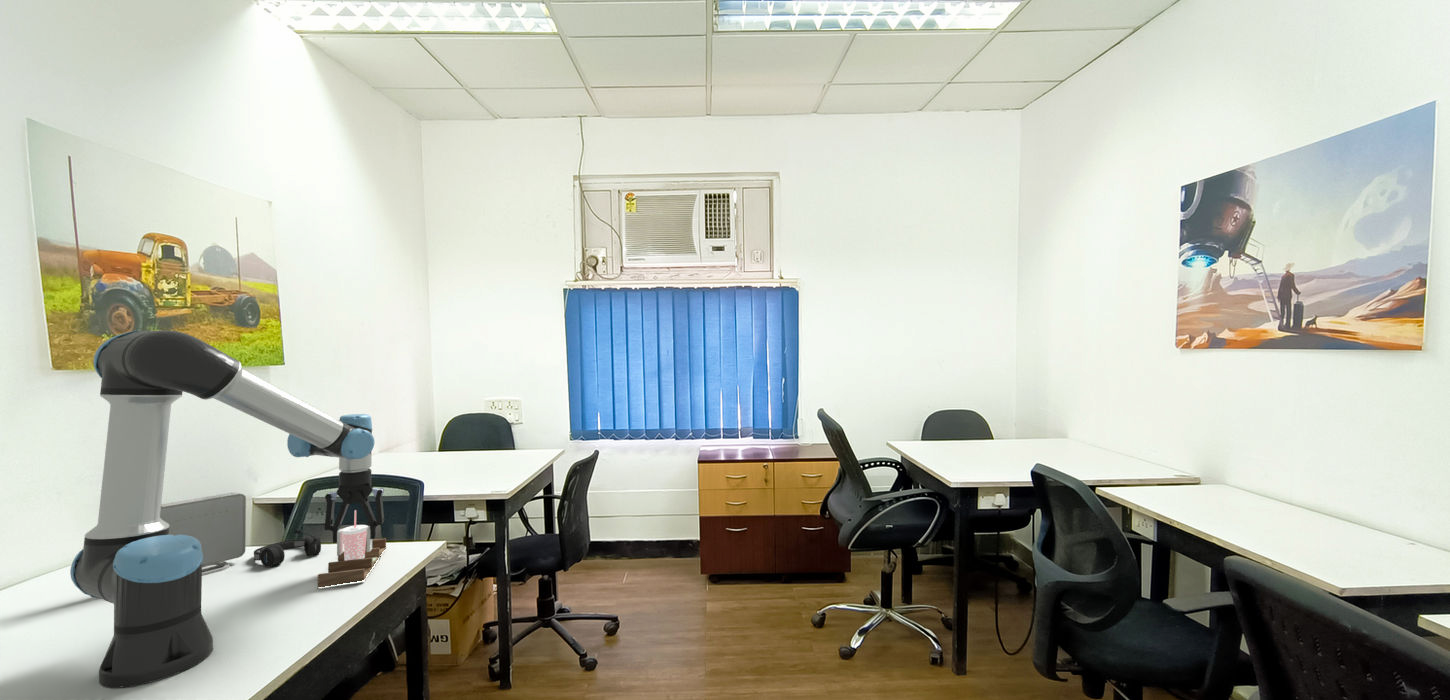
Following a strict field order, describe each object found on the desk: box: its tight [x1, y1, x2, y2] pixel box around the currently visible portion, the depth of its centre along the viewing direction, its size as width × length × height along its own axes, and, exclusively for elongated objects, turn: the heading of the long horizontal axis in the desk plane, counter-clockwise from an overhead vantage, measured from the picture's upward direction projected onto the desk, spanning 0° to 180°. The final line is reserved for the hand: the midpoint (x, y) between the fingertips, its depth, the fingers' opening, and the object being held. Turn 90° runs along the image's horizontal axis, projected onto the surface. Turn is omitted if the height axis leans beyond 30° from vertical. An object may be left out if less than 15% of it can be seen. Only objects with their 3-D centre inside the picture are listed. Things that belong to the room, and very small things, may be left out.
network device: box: [160, 491, 247, 577], centre depth 145 cm, size 26×9×20 cm, turn 148°
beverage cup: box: [341, 509, 369, 560], centre depth 151 cm, size 6×6×14 cm
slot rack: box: [317, 537, 387, 588], centre depth 151 cm, size 26×10×4 cm, turn 21°
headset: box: [253, 529, 322, 567], centre depth 159 cm, size 14×10×20 cm
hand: (354, 551), depth 151 cm, fingers open, 6 cm apart
